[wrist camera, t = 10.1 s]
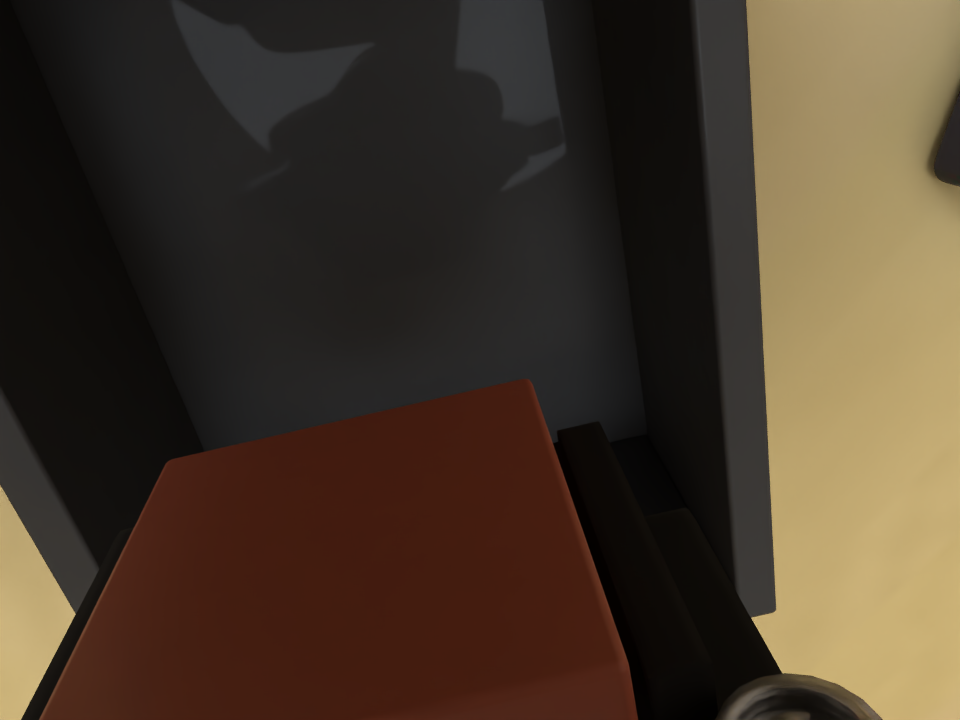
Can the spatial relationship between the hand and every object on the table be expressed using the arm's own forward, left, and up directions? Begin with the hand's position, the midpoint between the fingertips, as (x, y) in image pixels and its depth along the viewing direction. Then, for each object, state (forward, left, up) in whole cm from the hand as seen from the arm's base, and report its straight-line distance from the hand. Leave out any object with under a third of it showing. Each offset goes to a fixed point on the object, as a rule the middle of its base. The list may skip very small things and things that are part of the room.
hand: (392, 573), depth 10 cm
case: (-2, 0, -10) cm, 10 cm away
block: (0, 0, 0) cm, 0 cm away
